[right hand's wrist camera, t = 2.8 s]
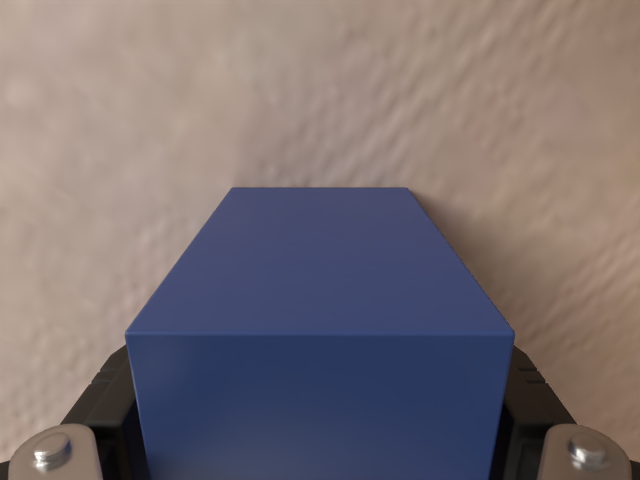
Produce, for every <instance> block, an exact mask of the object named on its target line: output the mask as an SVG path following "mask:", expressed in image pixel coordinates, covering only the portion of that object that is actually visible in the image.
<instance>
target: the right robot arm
mask: <svg viewBox="0 0 640 480" xmlns="http://www.w3.org/2000/svg"><path fill="white" fill-rule="evenodd" d="M0 480H150V474H149V469H148V463H147V458H146V452H145V446H144V441H143V435H142V429H141V424H140V418H139V413H138V407H137V401H136V396H135V390H134V384H133V379H132V373H131V368H130V362H129V356H128V351H127V345H124V346H123V347H122V348H120V349H119V350H117V351H116V352H115V353H113V354H112V355H111V356H110V357H109V358H108V360H107V361H106V362H105V364H104V365H103V367H102V368H101V369H100V372H98V373H97V375H96V376H95V377H94V379H93V380H92V383H91V384H89V386H88V387H87V388H86V390H85V391H84V392H83V394H82V395H81V396H80V398H79V399H78V401H77V402H76V403H75V405H74V406H73V407H72V409H71V410H70V411H69V413H68V414H67V416H66V417H65V418H64V420H63V421H62V422H61V424H60V425H58V426H55V427H51V428H49V429H46V430H44V431H42V432H40V433H38V434H36V435H34V436H33V437H31V438H30V439H28V440H27V441H26V442H24V443H23V444H22V445H21V446H20V447H19V448H18V449H17V450H16V452H15V453H14V455H13V456H12V458H11V460H10V461H6V462H3V463H0ZM489 480H640V463H639V462H635V461H631V460H629V458H628V456H627V455H626V453H625V452H624V450H623V449H622V448H621V447H620V446H619V445H618V444H617V443H616V442H614V441H613V440H612V439H610V438H609V437H607V436H606V435H604V434H602V433H600V432H598V431H596V430H594V429H591V428H589V427H585V426H582V425H577V423H576V422H575V421H574V419H573V418H572V416H571V415H570V414H569V412H568V411H567V410H566V408H565V407H564V405H563V404H562V403H561V401H560V400H559V399H558V397H557V396H556V394H555V393H554V392H553V390H552V389H551V388H550V386H549V385H548V383H545V379H544V378H543V377H542V375H541V374H540V372H539V371H537V368H536V367H535V366H534V364H533V363H532V361H531V360H530V359H529V357H528V356H527V355H526V354H525V353H524V352H522V351H521V350H520V349H518V348H517V347H515V346H514V345H513V349H512V355H511V360H510V366H509V371H508V377H507V382H506V388H505V393H504V399H503V405H502V410H501V416H500V421H499V427H498V432H497V438H496V443H495V449H494V454H493V460H492V466H491V471H490V477H489Z"/></svg>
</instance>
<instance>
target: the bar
mask: <svg viewBox="0 0 640 480" xmlns="http://www.w3.org/2000/svg"><path fill="white" fill-rule="evenodd" d="M514 338H515V333H514V331H513V329H512V328H511V327H510V325H509V324H508V323H507V321H506V320H505V319H504V317H503V316H502V315H501V313H500V312H499V311H498V309H497V308H496V306H495V305H494V304H493V302H492V301H491V300H490V298H489V297H488V296H487V294H486V293H485V292H484V290H483V289H482V288H481V286H480V285H479V284H478V282H477V281H476V280H475V278H474V277H473V276H472V274H471V273H470V271H469V270H468V269H467V267H466V266H465V265H464V263H463V262H462V261H461V259H460V258H459V257H458V255H457V254H456V253H455V251H454V250H453V249H452V247H451V246H450V245H449V243H448V242H447V241H446V239H445V238H444V236H443V235H442V234H441V232H440V231H439V230H438V228H437V227H436V226H435V224H434V223H433V222H432V220H431V219H430V218H429V216H428V215H427V214H426V212H425V211H424V210H423V208H422V207H421V206H420V204H419V203H418V201H417V200H416V199H415V197H414V196H413V195H412V193H411V192H410V191H409V189H408V188H231V189H230V191H229V192H228V194H227V195H226V196H225V198H224V199H223V200H222V202H221V203H220V204H219V206H218V207H217V208H216V210H215V211H214V212H213V214H212V215H211V217H210V218H209V219H208V221H207V222H206V223H205V225H204V226H203V227H202V229H201V230H200V231H199V233H198V234H197V235H196V237H195V238H194V240H193V241H192V242H191V244H190V245H189V246H188V248H187V249H186V250H185V252H184V253H183V254H182V256H181V257H180V259H179V260H178V261H177V263H176V264H175V265H174V267H173V268H172V269H171V271H170V272H169V273H168V275H167V276H166V277H165V279H164V280H163V282H162V283H161V284H160V286H159V287H158V288H157V290H156V291H155V292H154V294H153V295H152V296H151V298H150V299H149V300H148V302H147V303H146V305H145V306H144V307H143V309H142V310H141V311H140V313H139V314H138V315H137V317H136V318H135V319H134V321H133V322H132V324H131V325H130V326H129V328H128V329H127V330H126V332H125V339H126V345H127V351H128V356H129V362H130V368H131V373H132V379H133V384H134V390H135V396H136V401H137V407H138V413H139V418H140V424H141V429H142V435H143V441H144V446H145V452H146V458H147V463H148V469H149V474H150V480H489V477H490V471H491V466H492V460H493V454H494V449H495V443H496V438H497V432H498V427H499V421H500V416H501V410H502V405H503V399H504V393H505V388H506V382H507V377H508V371H509V366H510V360H511V355H512V349H513V344H514Z"/></svg>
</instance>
